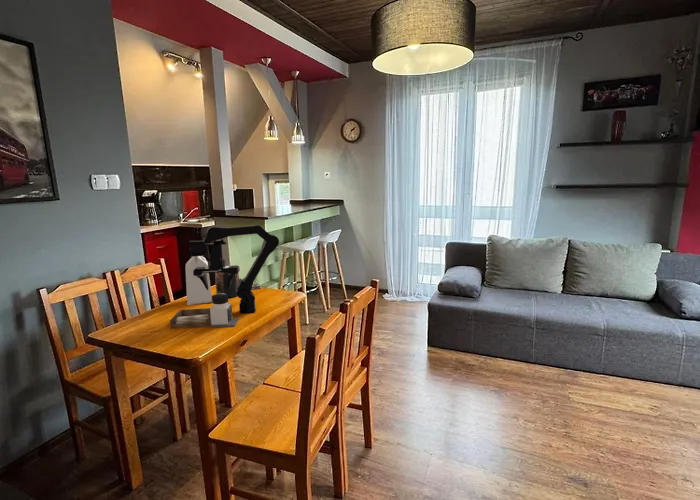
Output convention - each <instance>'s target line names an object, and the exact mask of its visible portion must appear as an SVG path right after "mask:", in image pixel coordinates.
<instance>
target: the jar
mask: <svg viewBox="0 0 700 500" xmlns="http://www.w3.org/2000/svg"><path fill="white" fill-rule="evenodd" d="M230 266H231V265H225V267H223V268H229V267H230ZM228 274H229V273H228V272H216V273H214V279H215V280H214V281H215V293H216V294H221V293H223V294H227V295H228V299H229V298H235V297H238V296H237V293H236V290H235V289H236V286H235V285H236V284H237V283H238V281H239V279H240V272H239V273H238V274H236V275H235V276H233V278H232V281H231V285H230V289H228ZM216 294H215V295H216Z"/></svg>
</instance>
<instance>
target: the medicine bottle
mask: <svg viewBox="0 0 700 500" xmlns="http://www.w3.org/2000/svg"><path fill="white" fill-rule="evenodd" d="M210 308H211V309H210V316H211V325H212V326H213V325H228V324H229V323H230V321H231V320H232V318H233V308H232V303H231V302H229V298H228V295H227V294H223V293H221V294H214V295H212V306H211V307H210Z"/></svg>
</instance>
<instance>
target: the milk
mask: <svg viewBox="0 0 700 500" xmlns="http://www.w3.org/2000/svg"><path fill="white" fill-rule="evenodd" d="M197 267H205V268H206V269H209V261H208V260H207V259H206V257H205V256H195V257H190V258H189V260H188V261H187V262H186V263H185V283H186V284H185V285H186V287H185V288H186V303H187V304H186V305H187V306H191V305H198V304H208V303H213V298H212V297H213V295H212V290H211V289H212V287H211V280H210V278H211V277H210V273H207V282H208V290H207V289H206V288H205V286H204V284H203V282H202V281H201V280H200V278H197V276H193V270H194V269H195V268H197Z"/></svg>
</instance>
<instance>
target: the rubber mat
mask: <svg viewBox="0 0 700 500" xmlns="http://www.w3.org/2000/svg"><path fill="white" fill-rule="evenodd" d="M238 321H239V317H232V320H231V321H230V323H229V324H228V325H212V328H213V329H215V328H217V329H218V328H231V327H236V325H237V323H238Z"/></svg>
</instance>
